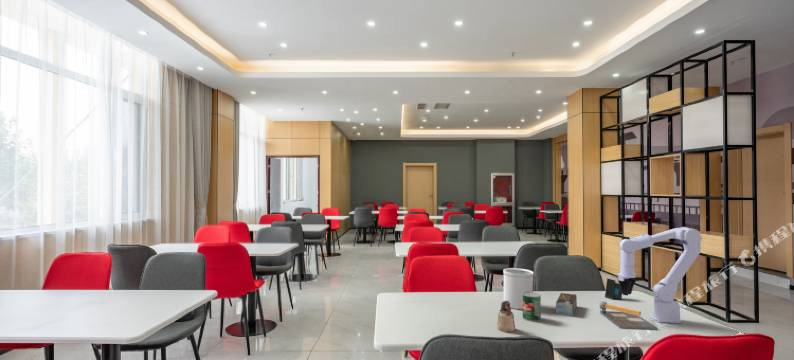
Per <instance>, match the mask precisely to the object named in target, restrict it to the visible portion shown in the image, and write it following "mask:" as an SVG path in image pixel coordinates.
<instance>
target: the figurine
mask: <svg viewBox="0 0 794 360" xmlns="http://www.w3.org/2000/svg"><path fill="white" fill-rule="evenodd" d="M497 317H498V318H497V327H496V328H497V330H498V331H501V332H505V333H512V332H515V330H516V322H515V315H514V313H513V311H512V308H511V307H510V302H509V301H504V300H503V301H502V302H501V303H500V310H499V313H498V316H497Z"/></svg>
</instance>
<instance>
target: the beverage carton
mask: <svg viewBox="0 0 794 360" xmlns="http://www.w3.org/2000/svg"><path fill="white" fill-rule="evenodd" d="M577 299H578V298H577V294H573V293H572V294H571V293H564V292H560V294H559V296H558V298H557V300H556V302H555V313H556V315H561V316H567V317H574V314H575V312H576V310H577V305H578V302H577Z"/></svg>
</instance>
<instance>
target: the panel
mask: <svg viewBox="0 0 794 360" xmlns="http://www.w3.org/2000/svg"><path fill="white" fill-rule="evenodd" d="M599 308H600V307H599ZM599 313H600V314H601V316H602V317H605V318H606V319H607V320H609V321H610V322H611V323H612V324H614V325H616V326H617V327H618V328H619V329H629V330H650V331H651V330H652V331H653V330H655V331H656V330H658V327H657V326H656V325H654V324H652V323H651V322H649V321H648V320H646V319H644V318H643V317H641V315H640V316H637V315H633V314H629V313H624V312H620V311H614V310H611V311H608V310H607V309H601V308H600V310H599Z"/></svg>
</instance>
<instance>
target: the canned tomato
mask: <svg viewBox="0 0 794 360" xmlns="http://www.w3.org/2000/svg"><path fill="white" fill-rule="evenodd" d="M541 296H542V294H541V293H537V292H524V293H523V309H522V319H523V320H525V321H528V322H540V321H541V318H542V317H541V316H542V315H541V311H542V309H541V307H542V306H541V305H542V304H541V303H542V302H541V300H542V297H541Z"/></svg>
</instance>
